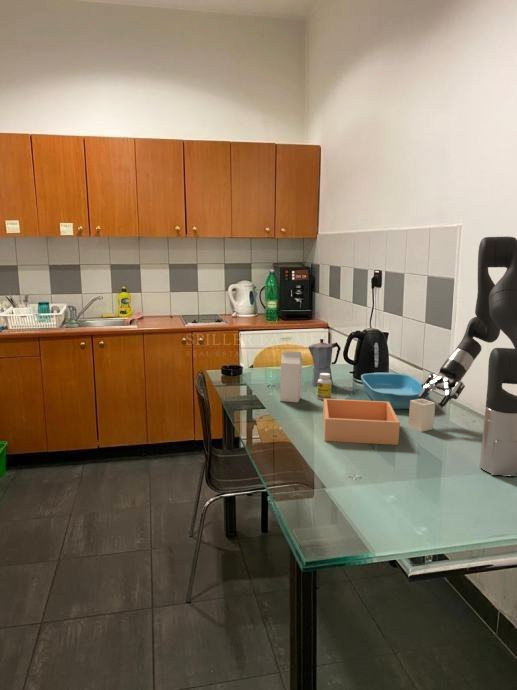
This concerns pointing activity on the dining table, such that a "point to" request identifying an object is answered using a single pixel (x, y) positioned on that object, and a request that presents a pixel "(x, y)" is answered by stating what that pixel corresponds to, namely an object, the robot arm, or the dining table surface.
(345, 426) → the large crate
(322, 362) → the moka pot
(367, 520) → the dining table surface
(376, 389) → the casserole dish
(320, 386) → the supplement bottle
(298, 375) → the milk carton
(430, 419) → the small crate
